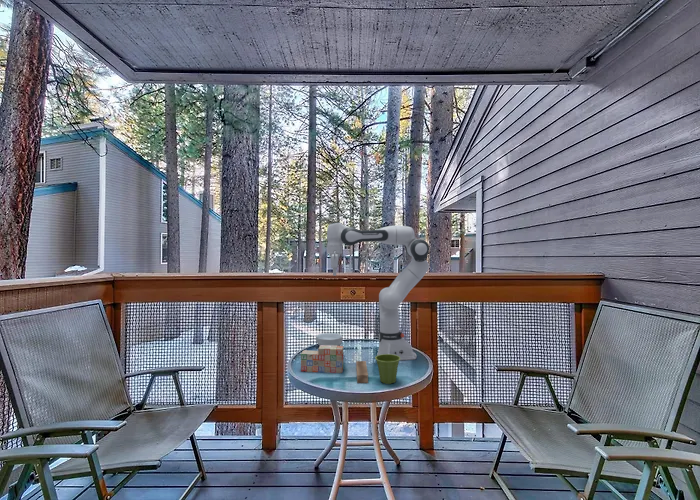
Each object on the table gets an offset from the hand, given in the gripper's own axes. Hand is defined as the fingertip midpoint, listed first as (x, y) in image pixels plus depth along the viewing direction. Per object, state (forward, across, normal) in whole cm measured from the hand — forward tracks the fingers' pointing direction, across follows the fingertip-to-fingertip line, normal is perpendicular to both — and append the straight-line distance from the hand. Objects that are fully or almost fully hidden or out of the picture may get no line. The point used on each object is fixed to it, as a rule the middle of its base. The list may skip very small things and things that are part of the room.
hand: (334, 274), depth 204 cm
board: (+48, -30, -14) cm, 58 cm away
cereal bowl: (+48, +19, +3) cm, 51 cm away
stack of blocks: (+48, -22, +6) cm, 53 cm away
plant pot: (+47, -38, -25) cm, 66 cm away
